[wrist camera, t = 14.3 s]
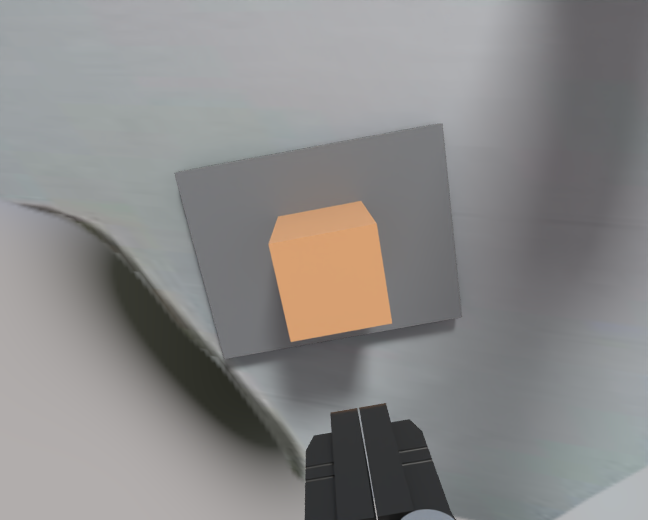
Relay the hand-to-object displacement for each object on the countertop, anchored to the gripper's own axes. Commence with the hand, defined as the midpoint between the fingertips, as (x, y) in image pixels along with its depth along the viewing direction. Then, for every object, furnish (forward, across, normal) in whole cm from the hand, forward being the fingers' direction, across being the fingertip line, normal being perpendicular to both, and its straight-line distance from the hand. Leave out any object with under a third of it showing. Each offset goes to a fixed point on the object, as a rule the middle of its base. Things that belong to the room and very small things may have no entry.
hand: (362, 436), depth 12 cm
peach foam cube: (+21, 0, 0) cm, 21 cm away
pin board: (+22, 0, 0) cm, 22 cm away
